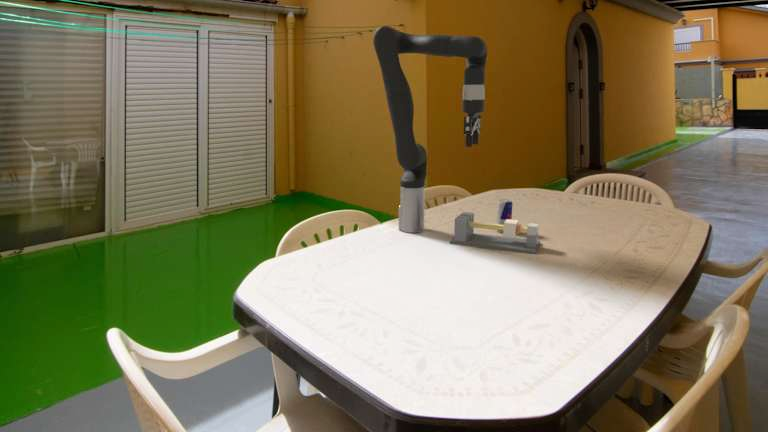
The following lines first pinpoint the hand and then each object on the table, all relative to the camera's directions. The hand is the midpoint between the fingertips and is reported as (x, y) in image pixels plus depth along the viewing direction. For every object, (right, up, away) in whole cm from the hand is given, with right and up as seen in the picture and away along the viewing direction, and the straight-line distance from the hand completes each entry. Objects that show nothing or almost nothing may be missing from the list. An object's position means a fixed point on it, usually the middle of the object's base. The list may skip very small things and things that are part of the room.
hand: (472, 145), depth 163 cm
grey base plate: (+7, -35, -2) cm, 36 cm away
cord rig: (+8, -34, -3) cm, 35 cm away
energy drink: (+14, -31, +12) cm, 36 cm away
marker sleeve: (+12, -32, -6) cm, 35 cm away
